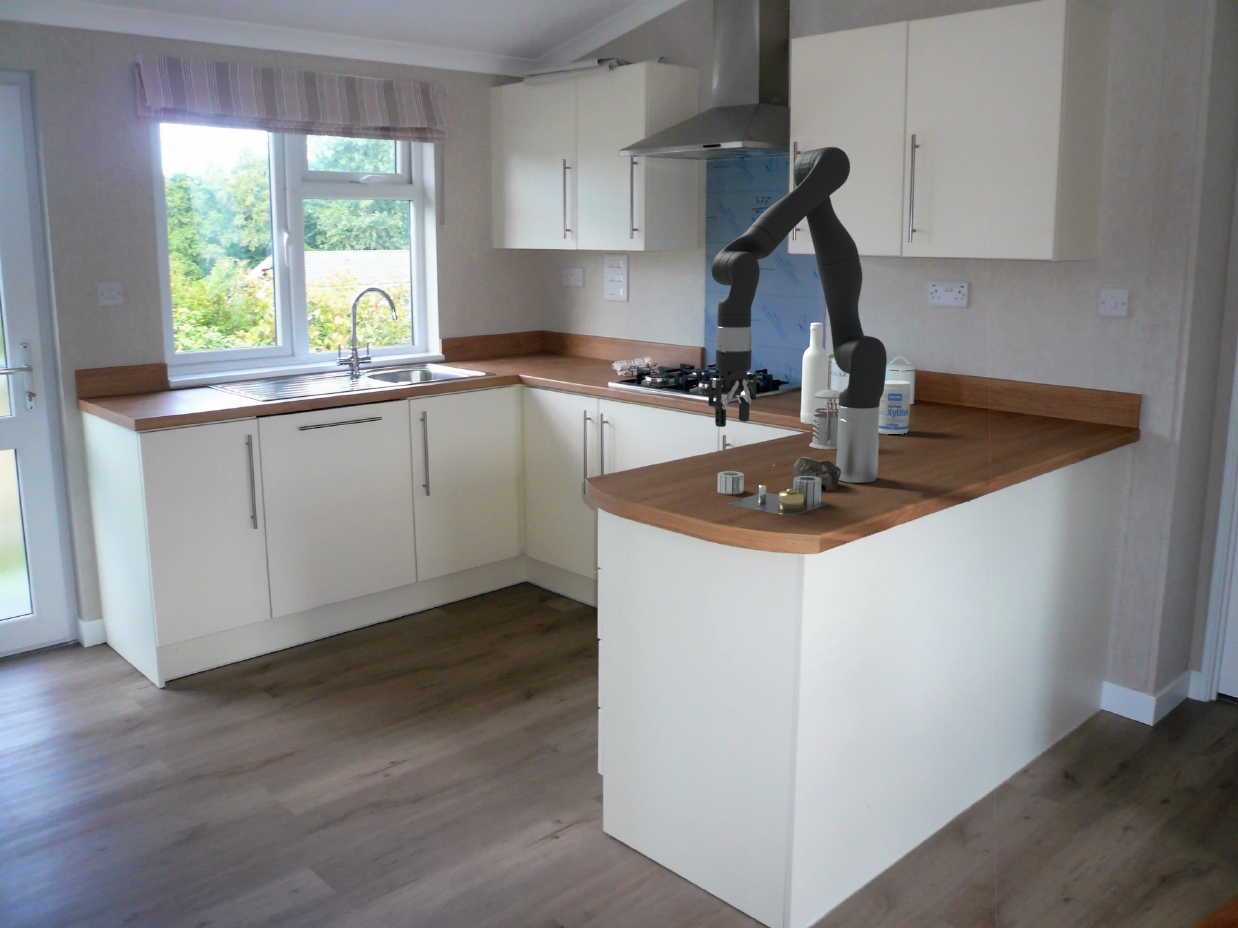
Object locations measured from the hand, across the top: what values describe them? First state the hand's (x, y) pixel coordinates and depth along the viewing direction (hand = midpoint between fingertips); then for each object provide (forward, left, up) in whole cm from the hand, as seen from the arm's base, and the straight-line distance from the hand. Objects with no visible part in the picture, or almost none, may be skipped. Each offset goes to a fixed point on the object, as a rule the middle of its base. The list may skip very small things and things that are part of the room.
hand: (732, 423), depth 230 cm
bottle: (-95, -37, -16) cm, 103 cm away
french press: (-64, -14, -16) cm, 68 cm away
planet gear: (0, 0, -16) cm, 16 cm away
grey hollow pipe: (-2, +18, -15) cm, 23 cm away
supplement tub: (-94, -11, -16) cm, 96 cm away
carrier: (+3, +14, -16) cm, 21 cm away
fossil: (-17, +11, -16) cm, 26 cm away
